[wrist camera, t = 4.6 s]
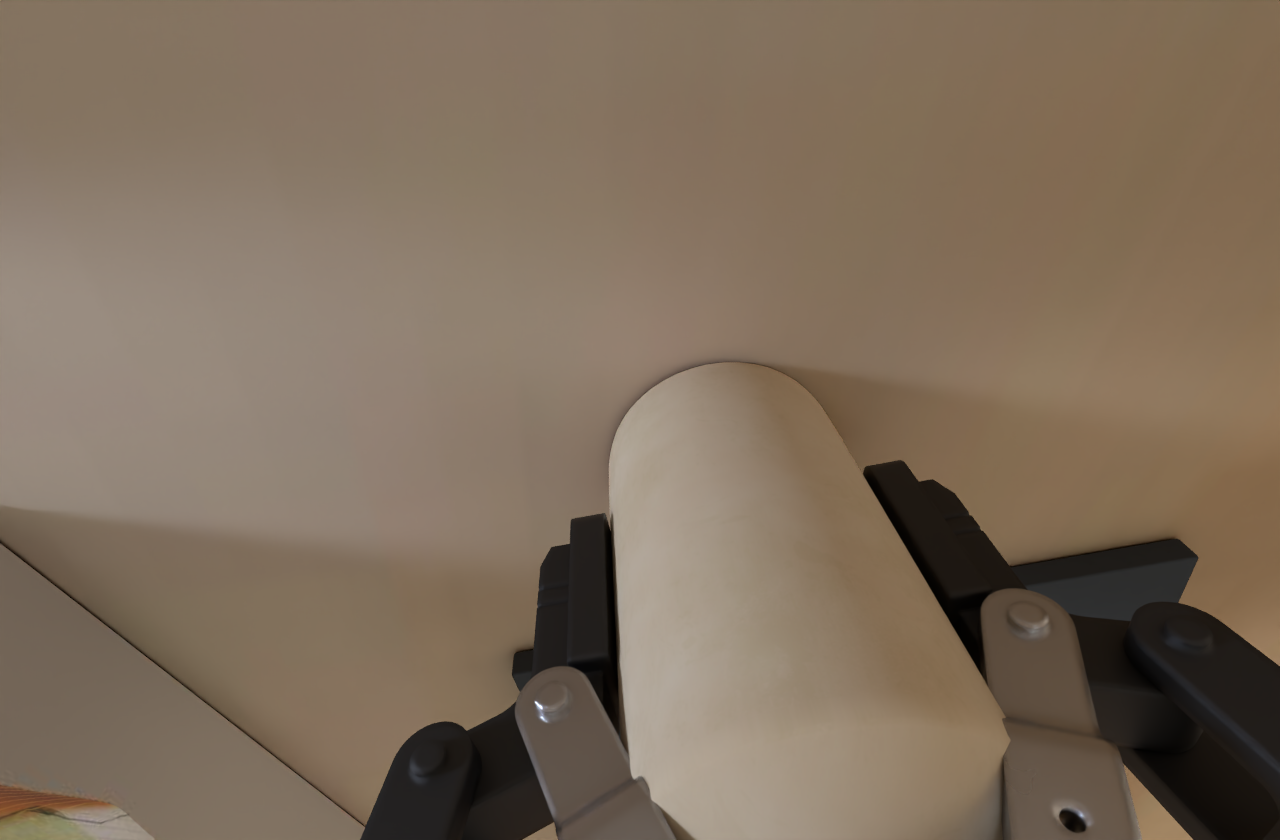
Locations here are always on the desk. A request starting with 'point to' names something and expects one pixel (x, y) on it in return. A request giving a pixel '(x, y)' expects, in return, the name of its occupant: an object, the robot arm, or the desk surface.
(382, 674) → the desk surface
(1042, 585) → the mat
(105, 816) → the topographic model
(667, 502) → the candle
